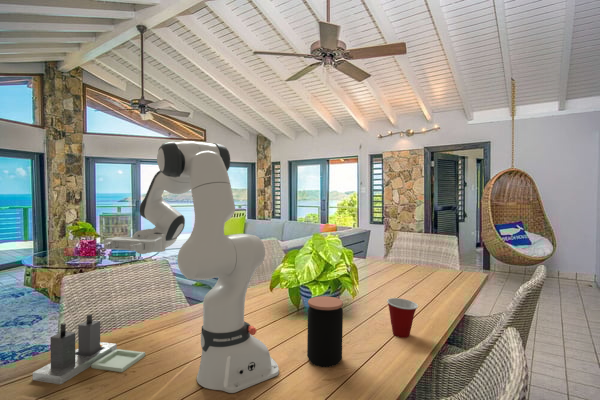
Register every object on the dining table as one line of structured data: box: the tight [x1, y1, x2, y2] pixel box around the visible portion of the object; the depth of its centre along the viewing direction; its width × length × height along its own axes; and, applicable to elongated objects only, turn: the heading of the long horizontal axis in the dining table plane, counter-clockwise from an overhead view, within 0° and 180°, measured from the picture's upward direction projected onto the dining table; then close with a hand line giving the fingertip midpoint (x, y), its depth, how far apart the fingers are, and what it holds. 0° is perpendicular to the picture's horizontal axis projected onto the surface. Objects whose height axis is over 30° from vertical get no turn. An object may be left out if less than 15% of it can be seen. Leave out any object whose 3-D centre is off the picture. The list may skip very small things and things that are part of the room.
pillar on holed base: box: [32, 322, 118, 385], centre depth 101 cm, size 20×9×14 cm, turn 168°
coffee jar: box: [306, 295, 344, 368], centre depth 107 cm, size 11×11×18 cm
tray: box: [91, 348, 146, 373], centre depth 103 cm, size 10×10×2 cm
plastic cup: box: [386, 297, 419, 339], centre depth 126 cm, size 11×11×12 cm
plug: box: [77, 313, 101, 357], centre depth 105 cm, size 4×4×13 cm
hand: (117, 247), depth 117 cm, fingers open, 8 cm apart
